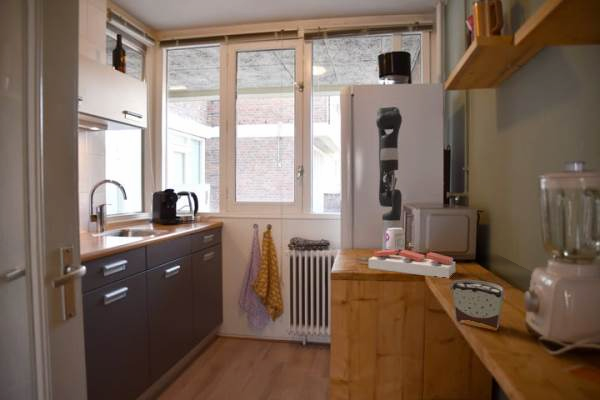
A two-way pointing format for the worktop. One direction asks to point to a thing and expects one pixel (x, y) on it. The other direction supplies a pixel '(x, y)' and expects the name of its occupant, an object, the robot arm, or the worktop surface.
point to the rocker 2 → (439, 258)
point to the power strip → (411, 266)
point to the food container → (477, 301)
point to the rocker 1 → (386, 252)
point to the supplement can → (395, 239)
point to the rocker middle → (411, 255)
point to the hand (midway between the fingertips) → (389, 199)
